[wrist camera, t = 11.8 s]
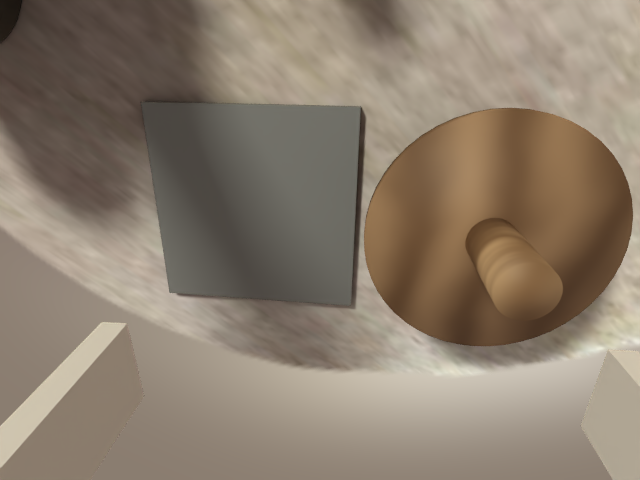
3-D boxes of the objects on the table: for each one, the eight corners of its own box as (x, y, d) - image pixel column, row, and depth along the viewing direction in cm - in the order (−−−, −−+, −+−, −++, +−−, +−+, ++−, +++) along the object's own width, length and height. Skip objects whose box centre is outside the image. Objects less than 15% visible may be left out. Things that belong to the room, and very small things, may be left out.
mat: (173, 288, 50) (169, 292, 50) (145, 101, 42) (140, 102, 41) (351, 301, 48) (350, 305, 47) (360, 106, 40) (360, 107, 39)
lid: (359, 331, 38) (356, 404, 30) (370, 106, 30) (370, 120, 22) (587, 347, 36) (652, 430, 28) (662, 109, 28) (782, 126, 20)
